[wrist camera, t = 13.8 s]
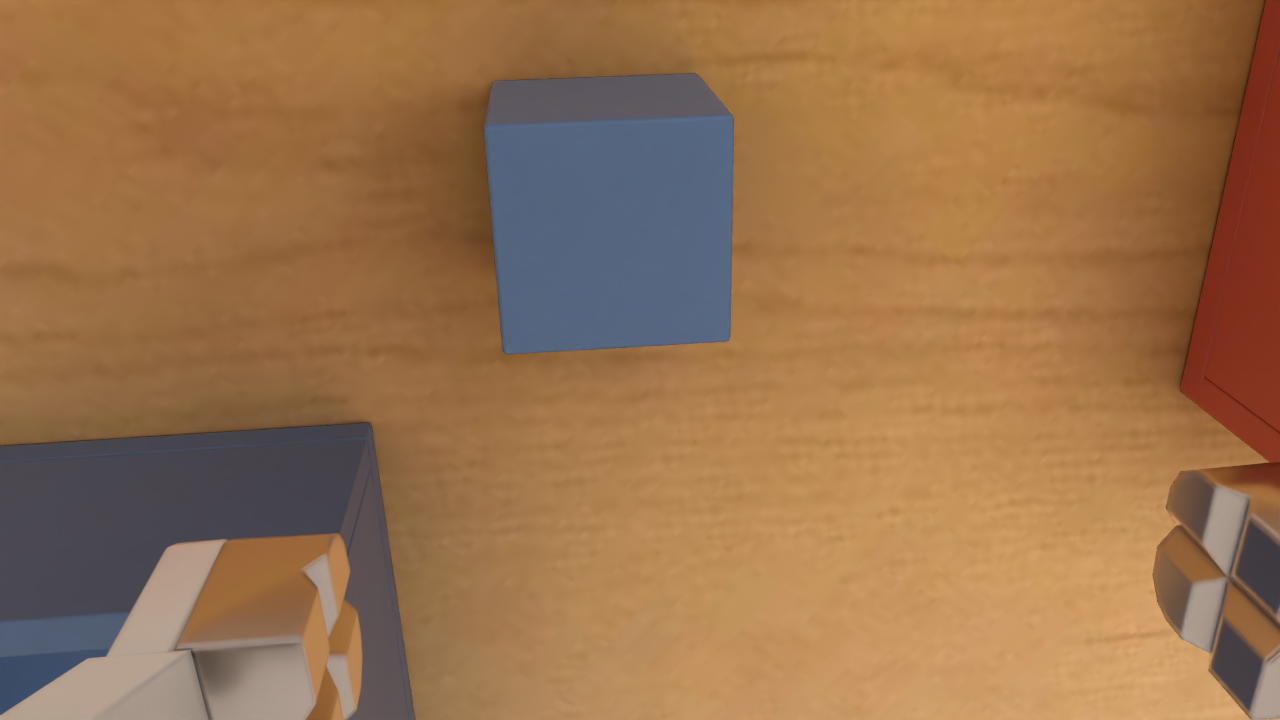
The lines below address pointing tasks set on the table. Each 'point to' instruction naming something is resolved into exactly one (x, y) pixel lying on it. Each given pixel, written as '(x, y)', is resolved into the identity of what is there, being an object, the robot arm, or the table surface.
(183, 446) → the blue bin
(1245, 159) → the red bin
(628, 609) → the table surface
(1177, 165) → the table surface
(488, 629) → the table surface
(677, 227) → the blue block
